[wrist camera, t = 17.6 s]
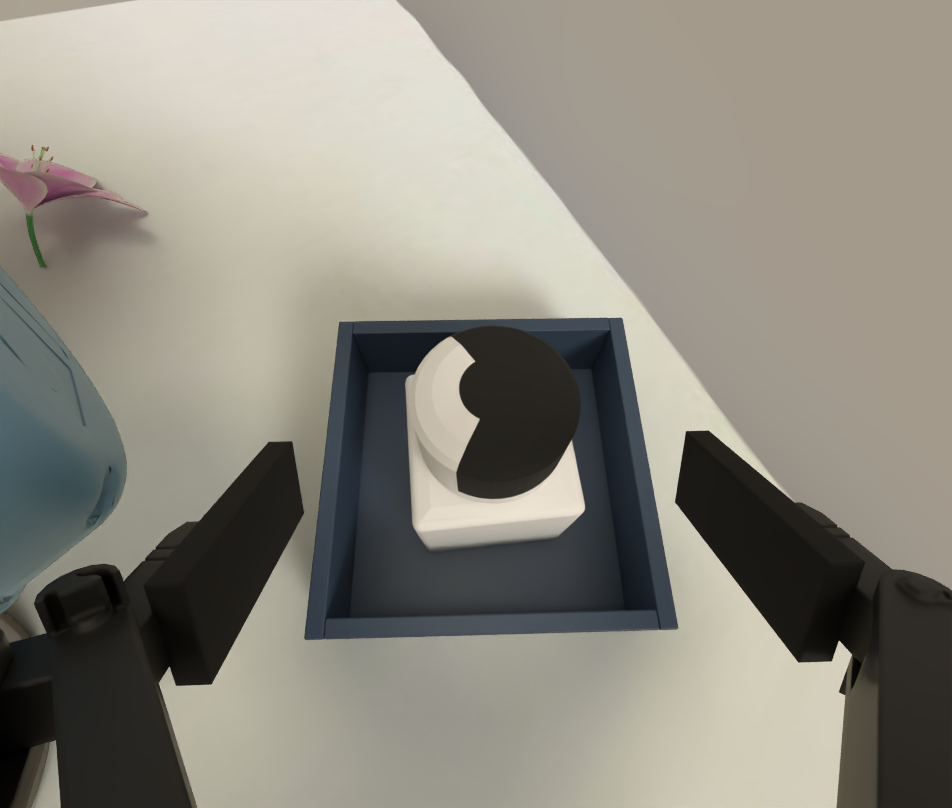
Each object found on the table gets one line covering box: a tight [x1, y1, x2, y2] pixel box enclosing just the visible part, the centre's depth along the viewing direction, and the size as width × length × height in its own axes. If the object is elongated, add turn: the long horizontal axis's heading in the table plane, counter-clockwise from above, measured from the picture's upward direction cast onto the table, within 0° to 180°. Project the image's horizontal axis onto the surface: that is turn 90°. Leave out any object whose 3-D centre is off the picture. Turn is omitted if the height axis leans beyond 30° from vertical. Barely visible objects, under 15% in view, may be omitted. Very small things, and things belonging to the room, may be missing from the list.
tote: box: [304, 318, 678, 640], centre depth 25 cm, size 16×16×5 cm
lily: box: [0, 145, 147, 267], centre depth 32 cm, size 12×12×10 cm
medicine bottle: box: [405, 326, 585, 552], centre depth 22 cm, size 7×7×12 cm
